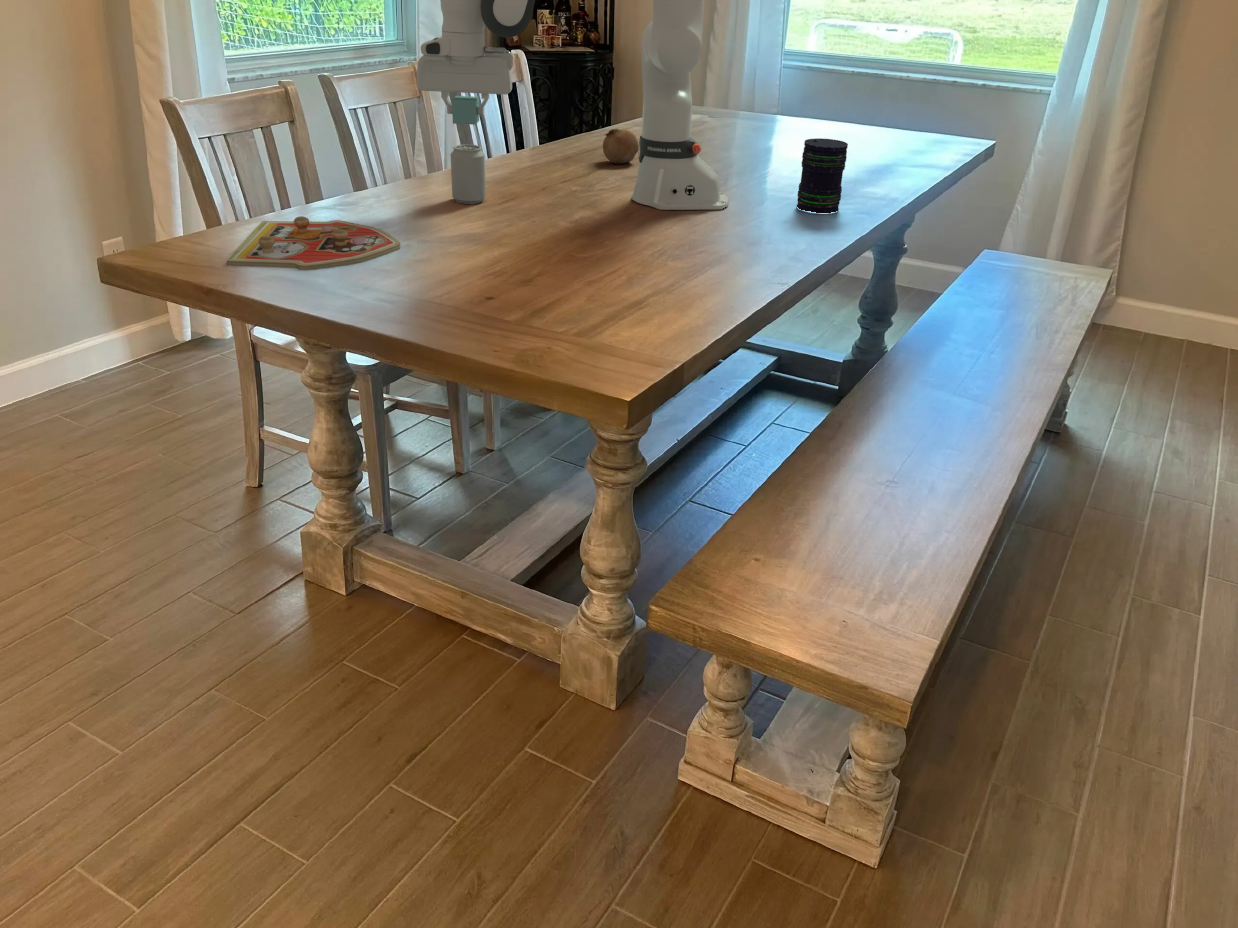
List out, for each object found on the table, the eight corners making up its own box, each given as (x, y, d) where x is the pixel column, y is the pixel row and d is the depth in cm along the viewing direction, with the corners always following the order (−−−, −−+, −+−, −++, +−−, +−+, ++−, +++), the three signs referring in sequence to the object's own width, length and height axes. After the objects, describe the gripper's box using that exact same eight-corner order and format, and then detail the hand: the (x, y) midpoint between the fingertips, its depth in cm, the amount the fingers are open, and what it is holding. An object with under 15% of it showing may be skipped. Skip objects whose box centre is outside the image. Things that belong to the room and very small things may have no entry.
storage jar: (847, 210, 231) (857, 143, 224) (823, 217, 225) (833, 149, 217) (811, 201, 237) (819, 136, 230) (787, 208, 231) (795, 141, 223)
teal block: (479, 120, 220) (478, 96, 218) (475, 124, 216) (475, 100, 213) (456, 119, 220) (455, 95, 218) (452, 123, 216) (451, 99, 213)
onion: (608, 176, 266) (593, 142, 260) (614, 159, 272) (600, 125, 266) (641, 166, 262) (626, 131, 256) (646, 149, 269) (632, 115, 263)
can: (479, 206, 222) (477, 151, 217) (447, 203, 224) (445, 148, 218) (490, 198, 229) (488, 144, 223) (459, 195, 230) (456, 141, 224)
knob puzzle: (263, 227, 204) (260, 205, 202) (409, 229, 206) (408, 208, 204) (223, 271, 179) (220, 247, 177) (390, 274, 181) (388, 250, 179)
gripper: (514, 46, 213) (515, 113, 220) (419, 42, 213) (422, 109, 220) (510, 49, 208) (511, 118, 214) (412, 45, 208) (416, 114, 214)
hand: (465, 114), depth 217 cm, fingers closed on teal block, 5 cm apart
